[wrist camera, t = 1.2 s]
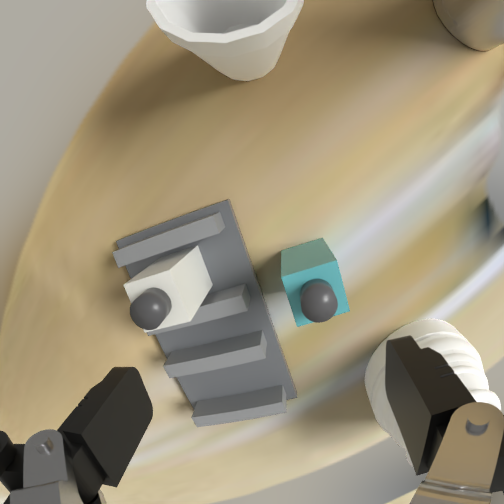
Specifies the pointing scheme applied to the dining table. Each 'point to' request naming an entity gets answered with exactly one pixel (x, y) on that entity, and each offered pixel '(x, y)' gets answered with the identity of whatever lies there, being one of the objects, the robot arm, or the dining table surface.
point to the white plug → (169, 290)
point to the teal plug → (313, 282)
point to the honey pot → (442, 341)
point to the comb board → (217, 321)
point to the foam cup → (229, 31)
